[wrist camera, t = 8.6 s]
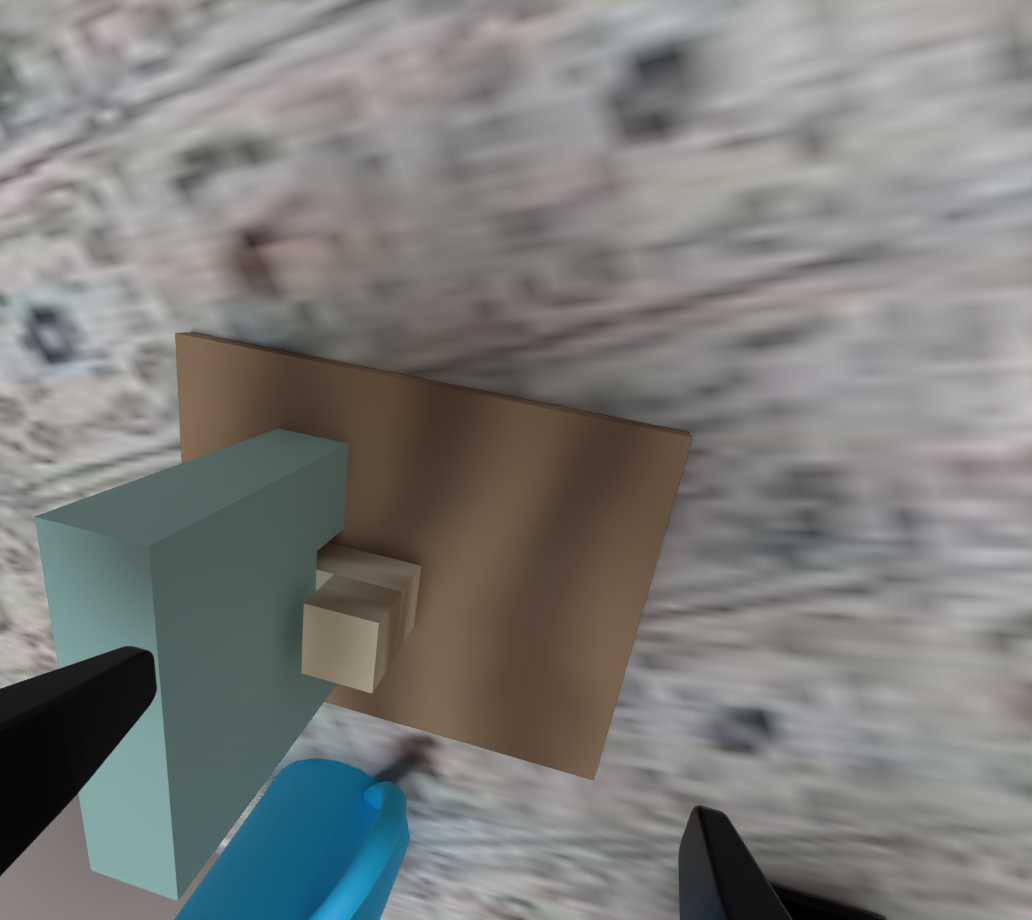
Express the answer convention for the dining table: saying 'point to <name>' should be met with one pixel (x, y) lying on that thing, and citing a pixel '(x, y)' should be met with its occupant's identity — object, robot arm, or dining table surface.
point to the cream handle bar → (357, 616)
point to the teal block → (195, 638)
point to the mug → (310, 850)
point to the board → (471, 535)
